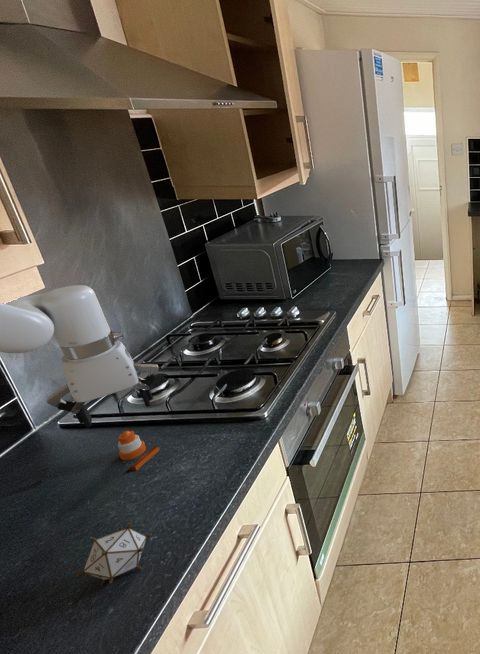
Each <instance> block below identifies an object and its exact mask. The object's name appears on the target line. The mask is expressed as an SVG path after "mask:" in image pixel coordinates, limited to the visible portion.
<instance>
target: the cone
mask: <svg viewBox="0 0 480 654" xmlns="http://www.w3.org/2000/svg"><path fill="white" fill-rule="evenodd" d="M117 447H118V452H117V454H118V456H119V458H120V460H122V461H130V460H133V459H135V458H138V457H140V456H141V455H142V454H143V453H144V455H143V456H142V457H140V458H139V459H138V460H137V461H136V462H134V463H133V465H131V466H130V467H128V468H127V471H138V470H140V468H141V467H143V466H144V465H145V464H146V463H147V462H148V461H150V459H151V458H153V457H154V456H155V455H156V454H157V453H158V452H159V451H160V446H153V447H152V448H150V450H149V451H147V452H146V453H145V451H146V450H147V447H146V444H145V441H144V440H142V439H140V436H139V435H138V434H136V433H135V432H134V430H125V431H123V432H122V433H121V434H119V436H118V443H117Z"/></svg>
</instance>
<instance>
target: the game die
mask: <svg viewBox="0 0 480 654" xmlns="http://www.w3.org/2000/svg"><path fill="white" fill-rule="evenodd" d="M132 526H133V524H132V522H130V523H128V524H127V526H126V527H125V528H124V526H121V527H119V528H118V530H117V531H114V532H112V533H109V534H107V535H103V536H101V537H98V538H96V537H95V536H90V537H89V540H90V541H91V542H92V544H91V548H90V550H89V553H88V556H87V558H86V561H85V564H84V567H83V569H82V571H79V572H77V573H76V575H75V577H80V576H82V575H83V574H86V575H88V576H91V577H93V578H96V579H100V580H101V581H100V585H101V586H103V585H105V583H106V581H107V580H108V583H109V584H112V583H113V582H114V579H115V578H116V577H118V576H119V577H120V576H121V575H123V574H125V573H127V572H130V571H132V570H134V569H136V570H138V571H139V570H142V566H141V565H140V562H141V558H142V554H143V551H144V548H145V545H146V541H147V538H150V537H152V535H153V533H150V532H149V533H148V534H146V535H145V534H143V533H141V532H139V531H137V530H134V529H133V528H131V527H132Z"/></svg>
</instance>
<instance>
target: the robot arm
mask: <svg viewBox="0 0 480 654" xmlns="http://www.w3.org/2000/svg"><path fill="white" fill-rule="evenodd" d="M19 297H20V298H18V299H17V300H13V301H11V302H8V303H6V304H4V303H0V353H5V354H24V353H30V352H33V351H36V350H38V349H40V348H43V347H44V346H45V345H47V344H48V343H49V342H50V341H51V339H52V338H53V336H54V337H55V339H56V341H57V344H58V346H59V348H60V350H61V352H62V354H63V355H62V356H61V358H60V359H61V366H62V371H63V376H64V378H65V382H66V384H65V385H63V386H62V387H60V388H59V389H57V390H56V391H54V392H53V393H52V394H51V395H49V396H48V397H47V398H46V404H48V405H50V406H53V407H55V408H57V409H58V410H59V411H65V412H69V413H71V414H73V415H75V417H76V418H77V421H78V423H79V424H81V425H82V424H84V426H85V428H87V429H88V428H90V427H91V426H92V424H93V423H92V422H93V418H92V416H91V414H90V411H89V410H88V407H87V405H86V404H85V403H87V402H91V401H94V400H97V399H101V398H104V397H106V396H109V395H113V394H115V393H119V392H121V391H124V390H125V391H126V390H128V389H130V388H135V389H138V390H139V391H140V392H139V393H140V395H141V398H142V401H143V403H144V406H145V407H147V408H148V407H150V406H151V401H152V400H153V399H154V396H153V394H152V391H151V388H150V387H151V386H152V385H153V383H154V381H156V377H157V375H158V372H159V365H158V364H155V363H135V362H134V360H133V358H132V356H131V354H130V352H129V350H128V349H127V348H126V346H125V345H124V344H123V342H122V341H121V340H120V339H123V338H124V334H123V332H122V331H119V332H114V331H112V329H111V327H110V325H109V324H108V321H107V319H106V315H105V313H104V311H103V309H102V306H101V304H100V302H99V300H98V297H97V294H96V292H95V291H94V289H93V288H92V287H90V286H88V285H84V284H74V285H67V286H62V287H58V288H56V289H52V290H50V291H47V292H44V293H37V294H31V295H24V296H19ZM139 372H145V373H146V372H148V375H147V376H146V377H145V378H142V377H140V376H139V375H140V373H139ZM67 394H70V395H71V397H72V399H73V400H74V401H69V400H64V399H62V398H63V397H65V396H66V395H67Z"/></svg>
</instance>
